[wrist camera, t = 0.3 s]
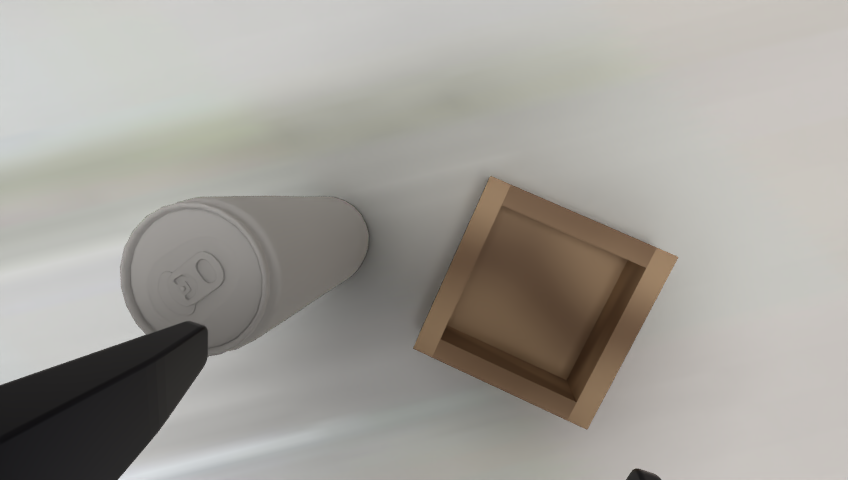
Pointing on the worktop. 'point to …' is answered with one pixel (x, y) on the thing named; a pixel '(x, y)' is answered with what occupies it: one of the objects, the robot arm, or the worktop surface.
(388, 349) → the worktop surface
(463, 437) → the worktop surface
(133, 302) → the beverage can
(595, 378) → the walnut socket
